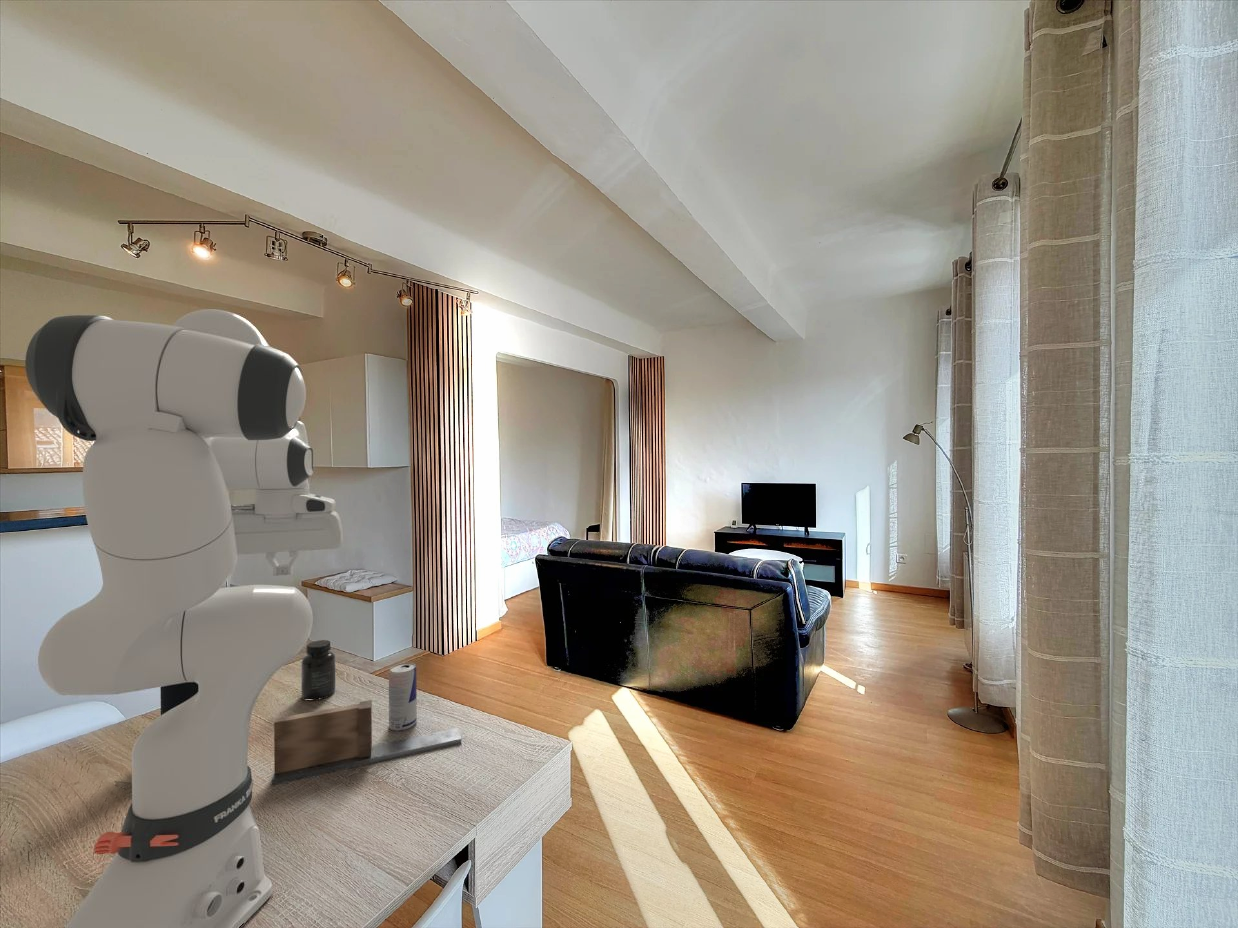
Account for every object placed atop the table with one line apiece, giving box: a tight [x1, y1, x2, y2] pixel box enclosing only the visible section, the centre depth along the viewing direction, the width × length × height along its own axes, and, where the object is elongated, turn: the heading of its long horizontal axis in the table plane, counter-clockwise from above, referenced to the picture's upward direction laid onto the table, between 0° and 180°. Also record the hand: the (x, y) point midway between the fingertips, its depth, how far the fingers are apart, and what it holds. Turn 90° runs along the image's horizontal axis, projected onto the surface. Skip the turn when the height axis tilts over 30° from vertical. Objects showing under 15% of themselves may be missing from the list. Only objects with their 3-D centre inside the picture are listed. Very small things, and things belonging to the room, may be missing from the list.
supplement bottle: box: [300, 639, 336, 700], centre depth 117 cm, size 7×7×12 cm
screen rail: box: [271, 727, 462, 786], centre depth 93 cm, size 31×4×1 cm, turn 114°
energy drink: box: [388, 662, 418, 732], centre depth 104 cm, size 5×5×12 cm
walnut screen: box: [273, 699, 373, 775], centre depth 90 cm, size 15×3×9 cm, turn 114°
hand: (283, 574), depth 96 cm, fingers closed
